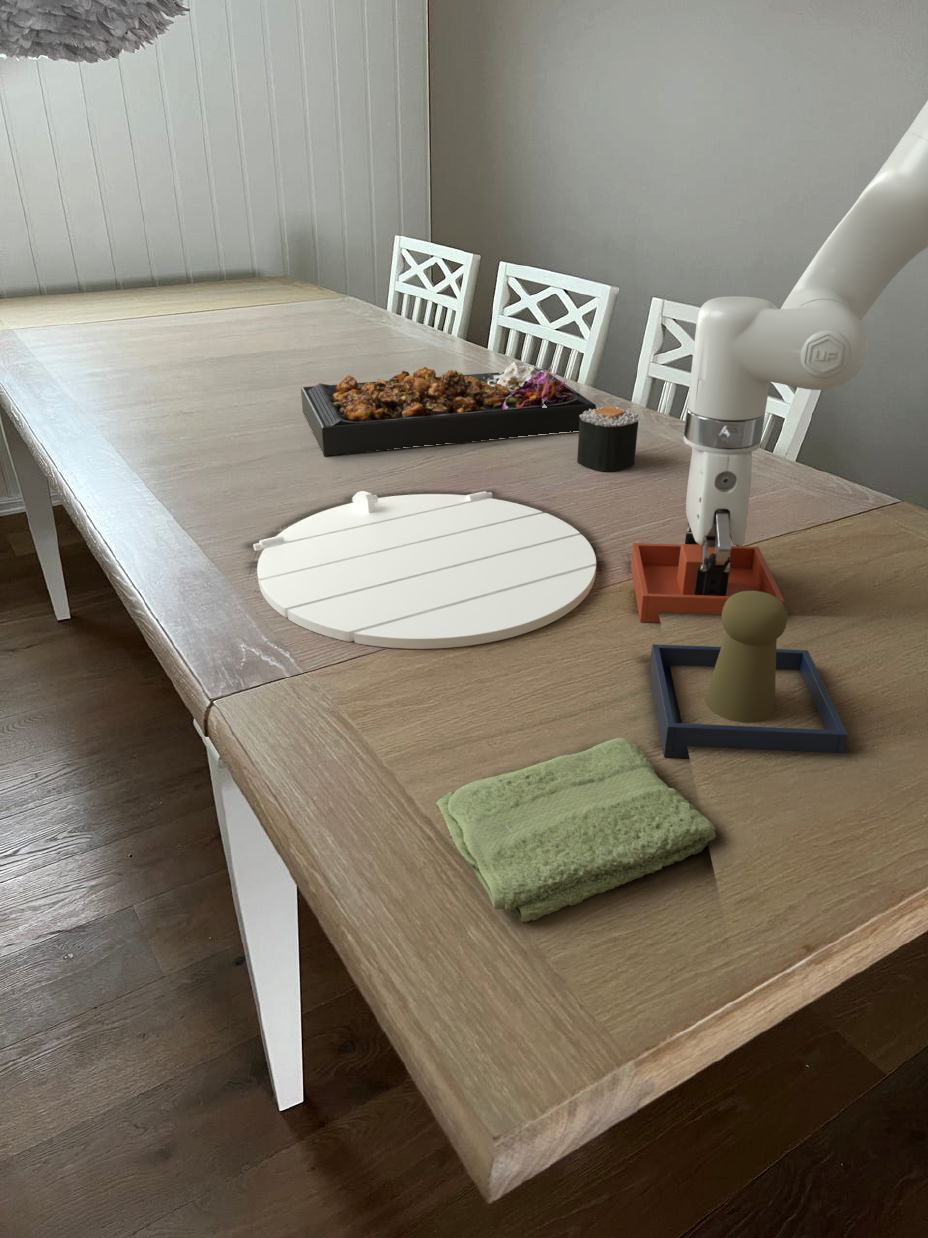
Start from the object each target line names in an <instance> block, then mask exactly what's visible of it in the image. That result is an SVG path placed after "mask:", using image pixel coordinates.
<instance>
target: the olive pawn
mask: <svg viewBox="0 0 928 1238" xmlns="http://www.w3.org/2000/svg"><path fill="white" fill-rule="evenodd" d="M787 622H788V610H787V609H786V607H785V603H784V604H783V603H782V601H780V600H779V599H778V598H776V597H774V596H772V595H770V594H768V593H764V592H759V591H743V592H739V593H736V594H733V595H732V596H731V597H730V598H729V599H728V600H727V601H726V602H725V605H724V607H723V610H722V614H721V624H722V627H723V629H724V631H725V634H724V637H723V641H722V642H721V643H722V644H721V646H720V647H721V650H720V653H719V656H718V659H717V662H716V666H715V667H714V669H713V672H712V676H711V679H710V682H709V685H708V688H707V692H706V695H705V699H704V700H705V704H706V706H707V708H709V710H711V712H712V713H714V714H715V715H717V716H719V717H721V718H723V719H726V720H729V721H732V722H738V723H743V724H745V723H748V724H749V723H750V724H752V723H753V724H754V723H760V722H763V721H766V720H768V719H770V718H771V716H772V715H774V713H775V709H776V708H775V707H776V674H777V671H776V670H777V669H776V649H777V643H778V642H777V639H779V638H780V637H781V636H782V635H783V634H784V632H785V630H786V628H787Z"/></svg>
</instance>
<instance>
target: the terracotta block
mask: <svg viewBox="0 0 928 1238" xmlns="http://www.w3.org/2000/svg"><path fill="white" fill-rule="evenodd" d="M680 545H681V549H680V557H679V566H678V574H677V583H678V587H679V590H680V594H681V595H694V588H695V581H696V573H697V568H700V567H701V545H697V544H685V543H680ZM714 550H715V548H708V558H709V556H710V555H711V553H714Z"/></svg>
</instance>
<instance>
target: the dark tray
mask: <svg viewBox="0 0 928 1238" xmlns="http://www.w3.org/2000/svg"><path fill="white" fill-rule="evenodd" d="M720 650H721V646H709V645H684V644H683V645H682V644H680V645H679V644H657V643H655V644H654V643H653V644H651V651H650V661H649V669H648V674H649V679H650V685H651V691H652V697H653V702H654V708H655V713H656V719H657V725H658V731H659V736H660V742H661V749H662V754H663V758H672V759H673V758H675V759H690V752H689V749H688V747H699V748H720V749H742V750H761V751H763V750H765V751H782V752H783V751H784V752H786V751H787V752H806V753H827V754H828V753H830V754H844V753H845V750H846V745H847V741H848V736H849V734H848V732H847V730H846V727H845V726H844V725H845V724H843V722H842V719H841V716H840V715H839V712H838V711H837V708H836V706H835V705H834V702H833V700H832V697H831V696H830V694H829V692H828V689H827V688H826V685H825V683H824V681H823V679H822V677H821V675H820V673H819V670H818V669H817V666H816V664H815V662H814V660H813V658H812V656H811V654H810V653H809V652H810V651H809V650H808V649H802V650H801V649H790V648H789V649H787V648H776V670H789V671H792V670H793V671H799V673H800V674H801V677H802V679H803V681H804V683H805V687H806V688H807V690H808V693H809V695H810V698H811V699H812V702H813V705H814V706H815V708H816V711H817V714H818V715H819V717H820V720H821V722H822V724H823V727H824V728H825V729H819V728H818V729H817V728H794V727H775V726H774V727H773V726H750V725H726V724H705V723H704V724H703V723H683V721H682V716H681V712H680V707H679V703H678V698H677V694H676V693H677V692H676V689H675V684H674V679H673V675H672V669H671V666H685V667H686V666H687V667H689V666H690V667H709V668H710V667H713V668H715V666H716V662H717V659H718V656H719V653H720Z"/></svg>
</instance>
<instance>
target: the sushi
mask: <svg viewBox="0 0 928 1238" xmlns="http://www.w3.org/2000/svg"><path fill="white" fill-rule="evenodd" d="M639 415H640V414H639V413H637V412H634V411H633V410H631V408H629V407H628V408H627V409H624V408H622V407H618V406H617V407H614V406H612V405H608V406H601V407H599V406H598V407H596V409H595V410H594V409H593V410H591V409H589V411H584V412H583V414H581V415H579V416H580V423H579V432H578V439H577V441H578V442H577V456H576V457H577V458H576V462H577V463H578V464H579V465H580V464H581V466H582V465H583V466H582V467H586V468H588V469H591V470H594V471H599V472H618V471H623V470H626V469H629V468H632V467H634V466H635V464H636V463H635V461H636V450H637V441H638V430H639V420H640V417H639Z"/></svg>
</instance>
